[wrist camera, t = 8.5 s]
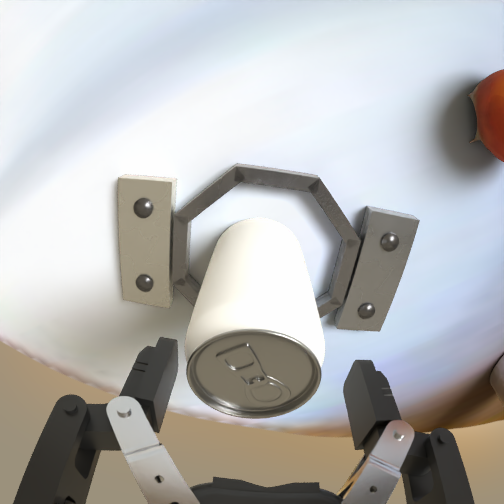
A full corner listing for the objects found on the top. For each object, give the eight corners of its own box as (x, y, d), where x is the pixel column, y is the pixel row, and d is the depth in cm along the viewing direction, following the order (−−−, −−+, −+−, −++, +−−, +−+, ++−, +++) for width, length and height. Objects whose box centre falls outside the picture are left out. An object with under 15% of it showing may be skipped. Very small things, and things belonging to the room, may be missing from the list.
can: (241, 306, 25) (228, 434, 14) (198, 240, 22) (145, 354, 12) (315, 273, 23) (350, 397, 12) (276, 199, 21) (292, 293, 10)
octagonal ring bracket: (417, 196, 20) (426, 201, 19) (370, 336, 26) (374, 346, 24) (125, 154, 20) (117, 156, 19) (129, 306, 25) (124, 316, 24)
